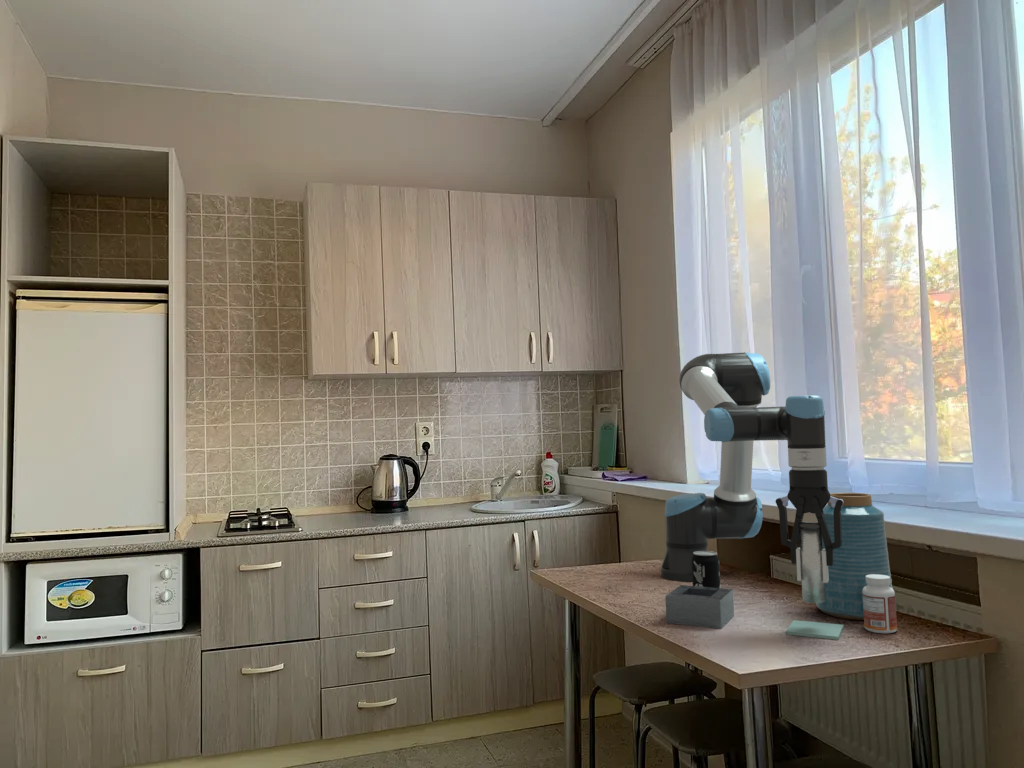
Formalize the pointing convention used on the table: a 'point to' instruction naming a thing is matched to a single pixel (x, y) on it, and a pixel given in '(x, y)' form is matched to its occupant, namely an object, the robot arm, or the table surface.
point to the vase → (854, 554)
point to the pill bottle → (879, 605)
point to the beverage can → (705, 569)
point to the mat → (815, 629)
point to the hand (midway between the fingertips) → (813, 580)
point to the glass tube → (811, 562)
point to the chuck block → (700, 606)
